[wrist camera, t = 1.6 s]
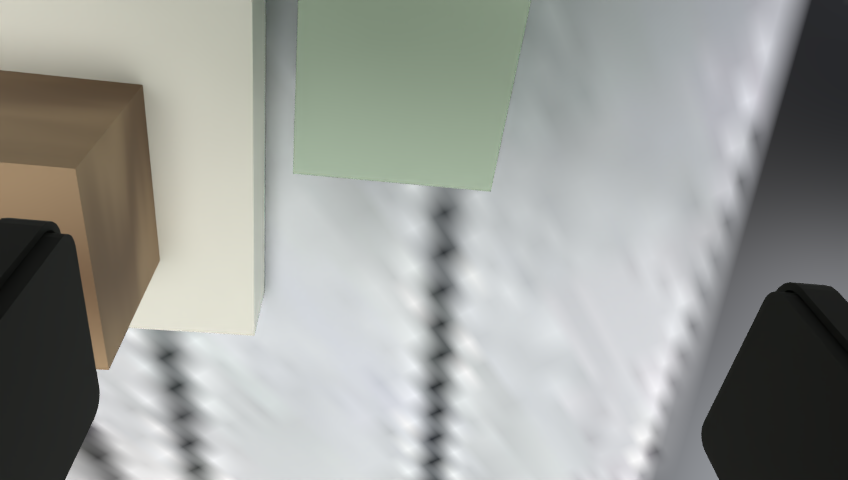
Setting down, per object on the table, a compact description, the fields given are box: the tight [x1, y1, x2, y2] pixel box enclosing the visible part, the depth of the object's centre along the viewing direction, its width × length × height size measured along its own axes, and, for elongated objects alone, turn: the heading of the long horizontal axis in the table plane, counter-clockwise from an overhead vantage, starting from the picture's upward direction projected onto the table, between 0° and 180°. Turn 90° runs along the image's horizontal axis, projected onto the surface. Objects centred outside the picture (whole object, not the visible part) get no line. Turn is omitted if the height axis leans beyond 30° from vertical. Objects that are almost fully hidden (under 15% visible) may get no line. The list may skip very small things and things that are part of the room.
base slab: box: [0, 0, 266, 336], centre depth 21 cm, size 12×12×2 cm
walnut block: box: [0, 70, 160, 370], centre depth 18 cm, size 6×6×5 cm
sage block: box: [293, 0, 531, 191], centre depth 18 cm, size 5×5×6 cm
